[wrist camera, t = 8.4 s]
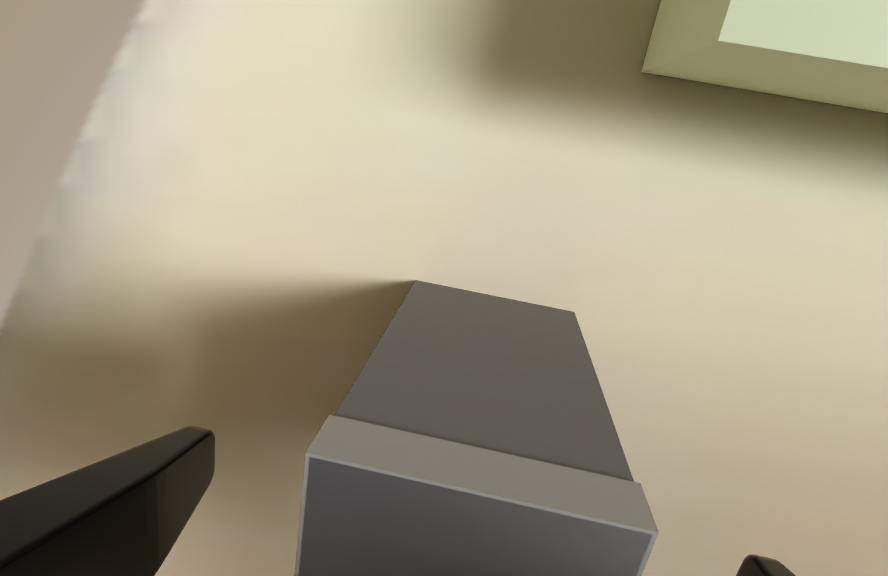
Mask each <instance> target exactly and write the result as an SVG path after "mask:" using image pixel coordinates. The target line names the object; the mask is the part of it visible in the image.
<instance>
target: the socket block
mask: <svg viewBox="0 0 888 576" xmlns="http://www.w3.org/2000/svg"><path fill="white" fill-rule="evenodd" d="M641 72H645V73H651V74H657V75H663V76H669V77H675V78H681V79H687V80H693V81H699V82H705V83H710V84H716V85H722V86H728V87H734V88H740V89H746V90H752V91H758V92H764V93H770V94H776V95H782V96H788V97H794V98H800V99H806V100H811V101H817V102H823V103H829V104H835V105H841V106H847V107H853V108H859V109H865V110H871V111H877V112H883V113H888V0H661V2H660V6H659V9H658V13H657V16H656V20H655V24H654V27H653V31H652V35H651V38H650V42H649V45H648V49H647V53H646V56H645V60H644V63H643V67H642V71H641Z"/></svg>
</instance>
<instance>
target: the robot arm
mask: <svg viewBox="0 0 888 576" xmlns="http://www.w3.org/2000/svg"><path fill="white" fill-rule="evenodd" d="M214 467H215V436H214V433H213V432H212V431H210V430H207V429H203V428H198V427H193V426H189V427H186V428H183V429H180V430H178V431H175V432H173V433H170V434H168V435H165V436H163V437H160V438H158V439H155V440H152V441H150V442H147V443H145V444H142V445H140V446H137V447H135V448H132V449H130V450H127V451H125V452H122V453H120V454H117V455H114V456H112V457H109V458H107V459H104V460H102V461H99V462H97V463H94V464H92V465H89V466H87V467H84V468H81V469H79V470H76V471H74V472H71V473H69V474H66V475H64V476H61V477H59V478H56V479H54V480H51V481H48V482H46V483H43V484H41V485H38V486H36V487H33V488H31V489H28V490H26V491H23V492H20V493H18V494H15V495H13V496H10V497H8V498H5V499H3V500H0V576H154V575H155V574H156V572H157V571H158V569H159V568H160V566H161V565H162V563H163V562H164V560H165V558H166V557H167V555H168V554H169V552H170V550H171V549H172V547H173V545H174V543H175V542H176V540H177V538H178V537H179V535H180V533H181V532H182V530H183V528H184V527H185V525H186V523H187V522H188V520H189V518H190V517H191V515H192V513H193V512H194V510H195V508H196V506H197V505H198V503H199V501H200V500H201V498H202V496H203V495H204V493H205V491H206V490H207V488H208V486H209V484H210V483H211V480H212V478H213V474H214ZM736 576H795V575H794V574H793V573H792V572H791V571H790V570H788V569H787V568H786V567H785V566H784V565H783V564H781V563H780V562H779V561H777V560H774V559H771V558H767V557H762V556H758V555H748V556H747V557H746V558H745V559H744V560H743V562H742V564H741V567H740V569H739V571H738V573H737V575H736Z"/></svg>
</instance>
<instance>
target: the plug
mask: <svg viewBox="0 0 888 576" xmlns="http://www.w3.org/2000/svg"><path fill="white" fill-rule="evenodd" d="M657 535H658V530H657V527H656V524H655V522H654V519H653V516H652V513H651V511H650V508H649V505H648V503H647V500H646V497H645V494H644V492H643V489H642V486H641V484H640V483H637V482H634V480H633V478H632V475H631V472H630V469H629V466H628V463H627V461H626V458H625V455H624V452H623V449H622V446H621V444H620V441H619V438H618V435H617V432H616V429H615V427H614V424H613V421H612V418H611V415H610V412H609V409H608V407H607V404H606V401H605V398H604V395H603V392H602V390H601V387H600V384H599V381H598V378H597V375H596V373H595V370H594V367H593V364H592V361H591V358H590V356H589V353H588V350H587V347H586V344H585V341H584V339H583V336H582V333H581V330H580V327H579V324H578V321H577V319H576V316H575V313H574V312H571V311H566V310H561V309H556V308H551V307H546V306H541V305H536V304H531V303H526V302H521V301H516V300H511V299H506V298H501V297H496V296H491V295H486V294H481V293H476V292H472V291H467V290H462V289H457V288H452V287H447V286H442V285H437V284H432V283H427V282H422V281H417V280H416V281H415V282H414V284H413V286H412V287H411V289H410V291H409V292H408V294H407V296H406V297H405V299H404V301H403V302H402V304H401V306H400V307H399V309H398V311H397V312H396V314H395V316H394V317H393V319H392V321H391V322H390V324H389V326H388V327H387V329H386V331H385V332H384V334H383V336H382V337H381V339H380V340H379V342H378V344H377V345H376V347H375V349H374V350H373V352H372V354H371V355H370V357H369V359H368V360H367V362H366V364H365V365H364V367H363V369H362V370H361V372H360V374H359V375H358V377H357V379H356V380H355V382H354V384H353V385H352V387H351V389H350V390H349V392H348V394H347V395H346V397H345V399H344V400H343V402H342V404H341V405H340V407H339V409H338V410H337V412H336V414H335V415H329V416H328V417H327V419H326V421H325V422H324V424H323V425H322V427H321V429H320V430H319V432H318V433H317V435H316V437H315V438H314V440H313V441H312V443H311V445H310V446H309V448H308V450H307V451H306V455H305V466H304V477H303V489H302V500H301V511H300V522H299V533H298V544H297V555H296V567H295V576H641V575H642V572H643V570H644V567H645V565H646V562H647V560H648V557H649V555H650V552H651V550H652V547H653V545H654V542H655V540H656V537H657Z"/></svg>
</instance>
